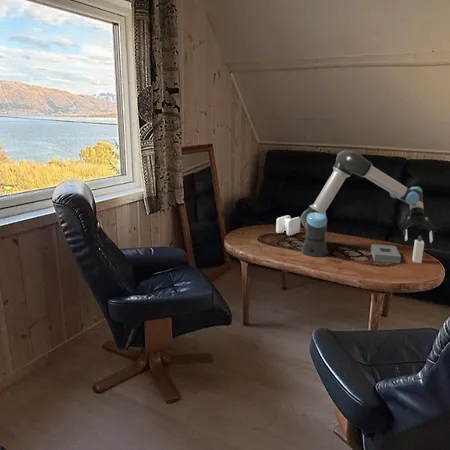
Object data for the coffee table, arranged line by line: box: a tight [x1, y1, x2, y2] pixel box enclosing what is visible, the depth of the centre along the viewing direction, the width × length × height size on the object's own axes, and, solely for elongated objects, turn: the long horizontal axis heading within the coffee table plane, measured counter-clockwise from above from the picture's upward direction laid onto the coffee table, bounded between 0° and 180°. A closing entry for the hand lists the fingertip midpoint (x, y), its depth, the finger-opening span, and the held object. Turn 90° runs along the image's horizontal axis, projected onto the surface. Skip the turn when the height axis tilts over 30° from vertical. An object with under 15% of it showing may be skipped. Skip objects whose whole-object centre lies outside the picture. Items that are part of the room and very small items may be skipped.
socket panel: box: [370, 243, 402, 264], centre depth 247 cm, size 14×20×4 cm
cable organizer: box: [275, 214, 301, 237], centre depth 291 cm, size 15×11×12 cm
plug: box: [411, 235, 425, 264], centre depth 239 cm, size 4×5×15 cm
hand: (418, 240), depth 243 cm, fingers open, 13 cm apart
